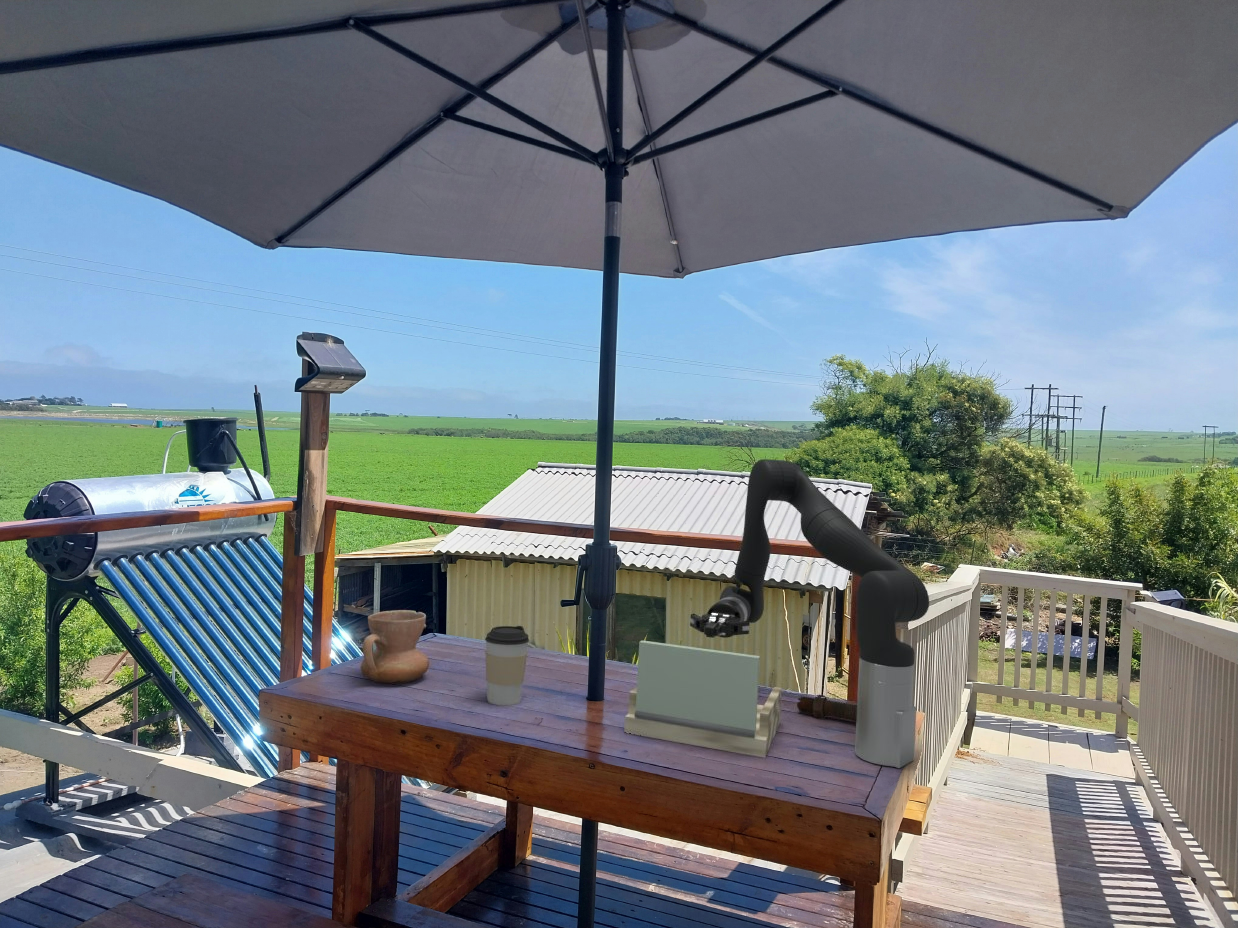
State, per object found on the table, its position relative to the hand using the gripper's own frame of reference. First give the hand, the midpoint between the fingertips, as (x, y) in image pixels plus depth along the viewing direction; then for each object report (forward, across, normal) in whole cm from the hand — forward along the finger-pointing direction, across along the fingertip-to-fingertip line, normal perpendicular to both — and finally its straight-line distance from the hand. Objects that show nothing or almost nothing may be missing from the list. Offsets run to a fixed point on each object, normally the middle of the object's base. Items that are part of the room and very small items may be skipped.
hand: (710, 632), depth 145 cm
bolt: (-17, +24, +18) cm, 34 cm away
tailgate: (+11, 0, +15) cm, 19 cm away
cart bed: (+1, 0, +18) cm, 18 cm away
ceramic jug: (+4, -69, +19) cm, 72 cm away
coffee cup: (+5, -41, +19) cm, 46 cm away
